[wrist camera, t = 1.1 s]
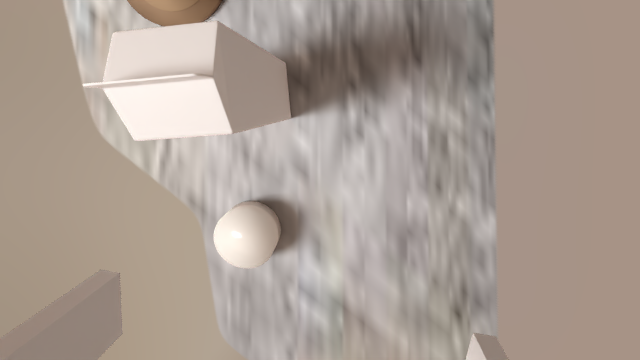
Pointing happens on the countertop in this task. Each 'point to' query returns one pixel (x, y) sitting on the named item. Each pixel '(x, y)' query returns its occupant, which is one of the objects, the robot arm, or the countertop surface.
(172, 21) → the disc
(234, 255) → the cream rounded dome part
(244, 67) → the milk
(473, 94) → the countertop surface
